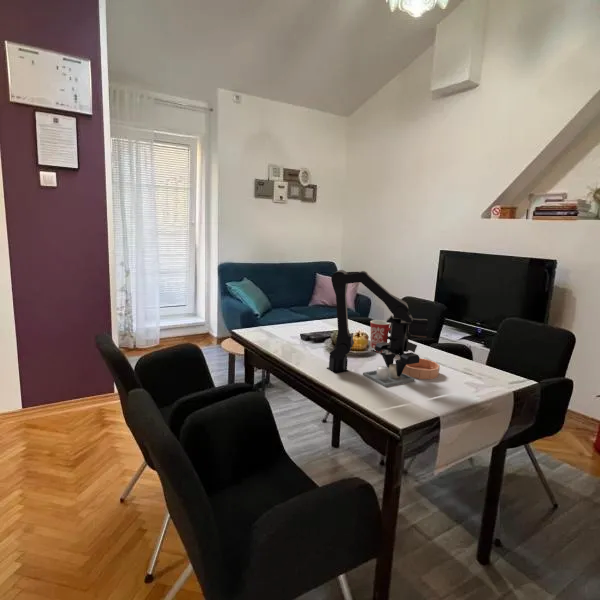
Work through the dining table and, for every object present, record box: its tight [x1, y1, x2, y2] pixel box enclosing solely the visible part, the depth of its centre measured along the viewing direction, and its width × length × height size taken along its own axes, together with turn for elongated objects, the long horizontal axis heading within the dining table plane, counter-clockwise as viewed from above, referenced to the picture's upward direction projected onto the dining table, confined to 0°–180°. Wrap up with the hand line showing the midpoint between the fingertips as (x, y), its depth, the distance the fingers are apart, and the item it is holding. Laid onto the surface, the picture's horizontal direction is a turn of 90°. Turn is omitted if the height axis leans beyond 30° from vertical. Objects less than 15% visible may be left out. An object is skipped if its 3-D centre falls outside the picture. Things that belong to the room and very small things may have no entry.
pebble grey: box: [376, 365, 389, 381], centre depth 156 cm, size 4×4×4 cm
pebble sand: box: [389, 363, 400, 379], centre depth 159 cm, size 4×4×4 cm
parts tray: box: [362, 369, 416, 388], centre depth 158 cm, size 14×13×1 cm
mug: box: [369, 319, 391, 353], centre depth 192 cm, size 13×9×14 cm
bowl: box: [402, 357, 440, 380], centre depth 165 cm, size 14×14×4 cm
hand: (394, 374), depth 159 cm, fingers closed on pebble sand, 4 cm apart
